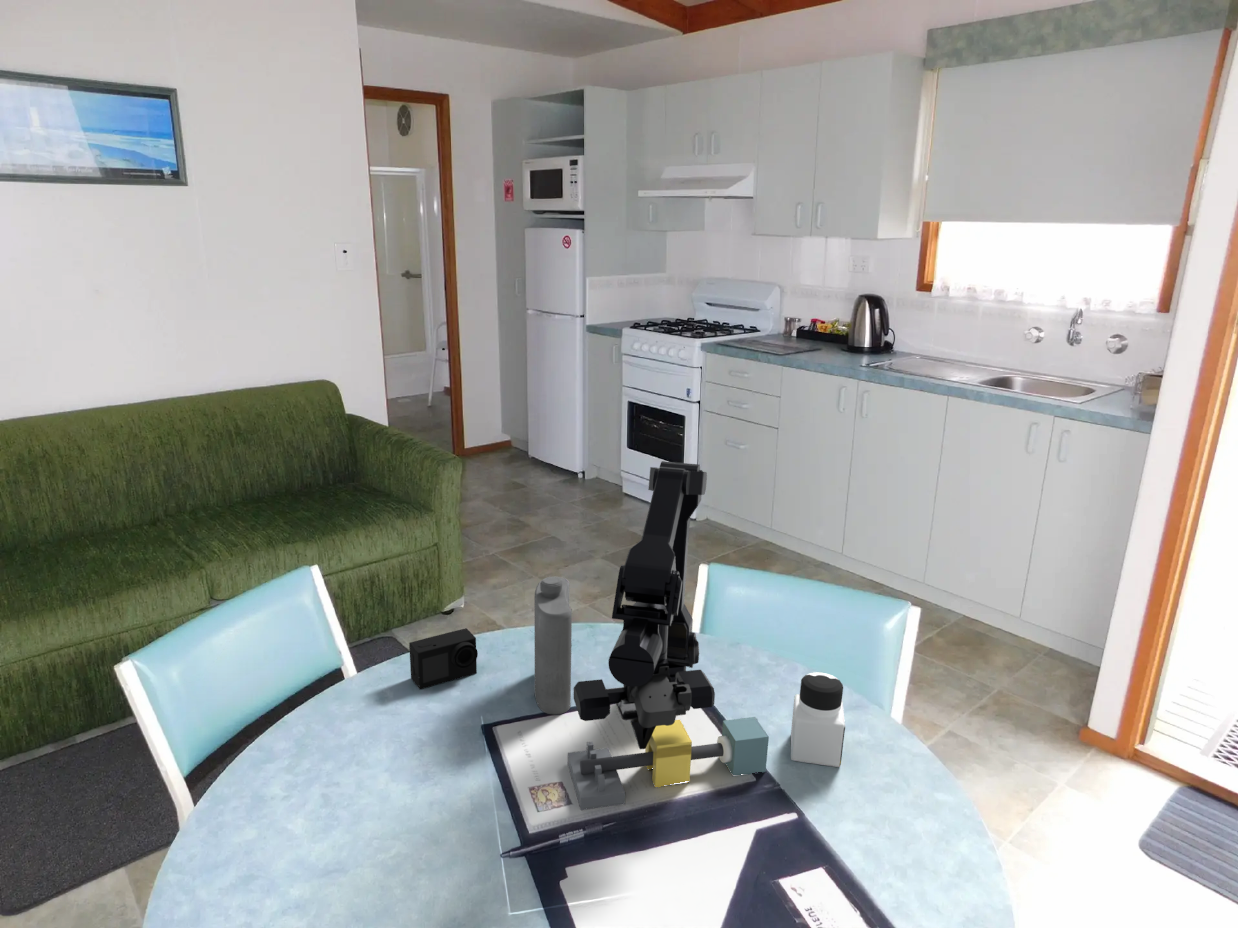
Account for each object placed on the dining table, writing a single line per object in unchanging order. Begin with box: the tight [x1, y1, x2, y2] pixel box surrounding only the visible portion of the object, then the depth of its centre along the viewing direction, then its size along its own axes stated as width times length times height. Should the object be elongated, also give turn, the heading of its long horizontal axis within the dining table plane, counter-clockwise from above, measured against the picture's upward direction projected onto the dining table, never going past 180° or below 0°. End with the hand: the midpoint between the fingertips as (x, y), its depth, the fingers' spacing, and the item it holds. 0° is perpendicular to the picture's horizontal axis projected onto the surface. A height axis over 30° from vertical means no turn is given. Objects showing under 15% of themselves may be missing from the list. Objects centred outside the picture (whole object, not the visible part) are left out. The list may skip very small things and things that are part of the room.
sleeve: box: [644, 719, 693, 788], centre depth 116 cm, size 5×5×7 cm
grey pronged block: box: [567, 741, 626, 811], centre depth 114 cm, size 10×6×4 cm, turn 14°
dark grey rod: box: [580, 716, 770, 776], centre depth 116 cm, size 26×5×6 cm, turn 104°
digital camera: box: [408, 627, 479, 690], centre depth 140 cm, size 10×5×7 cm, turn 123°
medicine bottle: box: [790, 671, 846, 768], centre depth 122 cm, size 7×7×12 cm
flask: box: [534, 575, 573, 716], centre depth 135 cm, size 15×6×20 cm, turn 5°
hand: (641, 747), depth 115 cm, fingers closed
